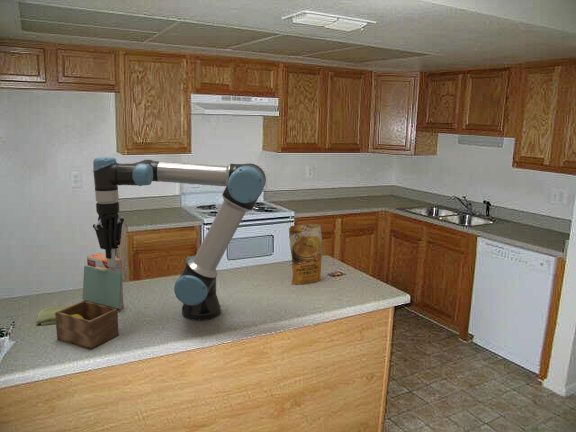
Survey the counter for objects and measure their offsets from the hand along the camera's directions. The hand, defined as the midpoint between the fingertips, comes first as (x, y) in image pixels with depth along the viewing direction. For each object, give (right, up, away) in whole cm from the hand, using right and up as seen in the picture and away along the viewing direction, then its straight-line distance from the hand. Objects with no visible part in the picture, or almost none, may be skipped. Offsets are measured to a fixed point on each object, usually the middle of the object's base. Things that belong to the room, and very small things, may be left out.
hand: (111, 266), depth 168 cm
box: (-6, -24, -6) cm, 26 cm away
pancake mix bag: (+72, -14, +57) cm, 92 cm away
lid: (-3, -7, -4) cm, 9 cm away
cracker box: (-10, -19, +21) cm, 30 cm away
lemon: (-7, -23, -7) cm, 25 cm away
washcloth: (-22, -21, +11) cm, 33 cm away
